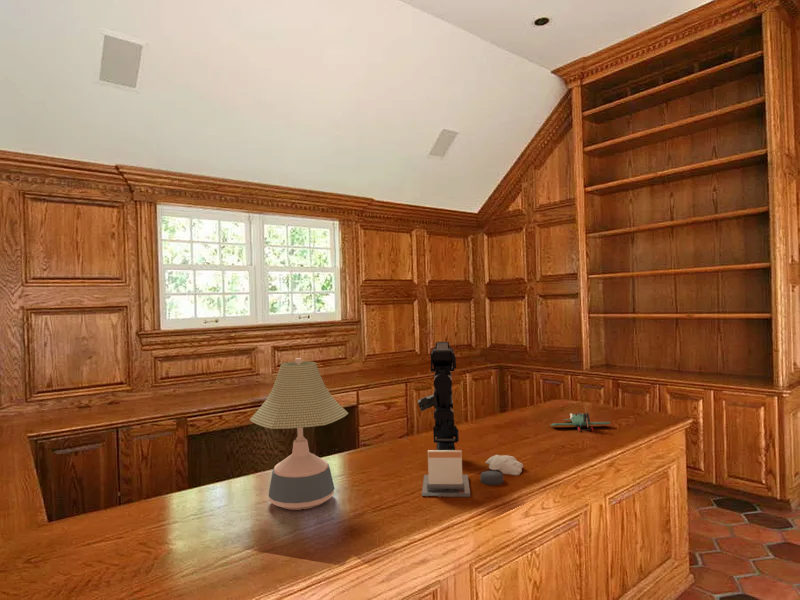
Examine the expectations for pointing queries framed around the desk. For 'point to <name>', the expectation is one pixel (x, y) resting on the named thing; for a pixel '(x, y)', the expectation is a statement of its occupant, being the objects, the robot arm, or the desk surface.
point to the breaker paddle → (445, 469)
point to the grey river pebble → (491, 478)
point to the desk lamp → (299, 434)
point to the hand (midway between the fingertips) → (444, 435)
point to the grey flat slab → (446, 492)
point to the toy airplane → (580, 421)
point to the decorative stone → (505, 464)
